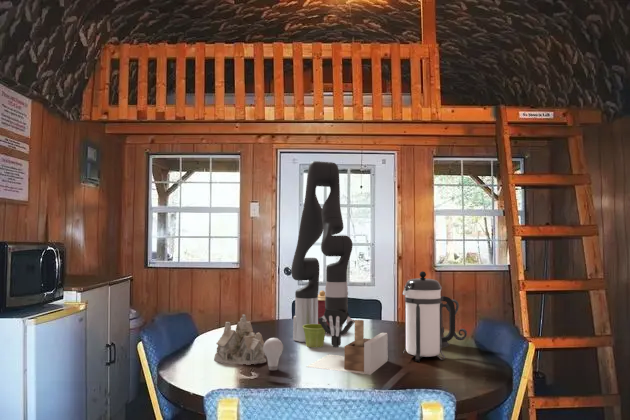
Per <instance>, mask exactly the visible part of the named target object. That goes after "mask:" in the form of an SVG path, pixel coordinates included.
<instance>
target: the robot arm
mask: <svg viewBox="0 0 630 420" xmlns="http://www.w3.org/2000/svg"><path fill="white" fill-rule="evenodd" d="M339 170H340V169H339V167H338V164H336V163H335V162H333V161H320V160H318V161H317V160H314V161H313V160H312V161H310V163H309V165H308V170H307V176H306V185H305V186H306V187H305V196H304V202H303V208H302V212H301V218H300V224H299V231H298V238H297V243H296V246H295V247H296V248H295V251H294V255H293V258H292V264H291V276H292V279H293V280H295V281H302V282H303V281H308V282H307V284H306V285H304V286H303V287H300V288H298V289H296V290H295V292H294V293H295V298H294V299H295V301H294V302H295V303H294V304H295V307H294V308H295V311H294V312H295V313H294V316H292V318H293V319H292V320H293V321H292V322H293V323H292V331H293V332H292V341H296V342H300V343H306V340H305V332H304V328H303V327H302V326H303V325H307V324H318V321H319V323H320V324H321V326H322V327H323V329H324V330H325V334H329V335H330V336H331V339H330V340H331V346H332V347H333V348H336V349H338V348H339V347H340V346H341V344H342V336H344V335H346V334H347V333H348V332H349V330H350V329H351V328H352V327H353V325H355V320H356V319H355V320H354V319H352V318H351V317H350V314H349V311H348V310H349V309H348V306H349V305H348V301H349V300H348V298H349V297H348V295H349V291H348V290H349V289H348V266H349V262H350V258H351V254H352V251H353V241H352V239H351V237H350V236H348V235H338V234H340V233H341V232H342V231H344V221H343V215H342V210H341V194H340V193H341V190H340V189H341V187H340V171H339ZM317 187H325V188H326V187H328V188H329V189H330V190H329V194H328V196H327V197H326V200H325V201H324V203H323V204H322V206H321V203H319V200H318V197H317V193H316V190H317ZM321 236H322V238H321ZM320 238H321V244H320V250H321V253H322V254H323V255H324V256H325V257H339V260H338V261H336V262H333V263H329V264H327V265H326V269H325V273H326V274H325V281H326V282H325V288H324V289H325V290H324V291H325V312H324V316H322V317H321V318H319V319H318V295H319V289H320V285H319V283H320V261H319V259H318V258H316V257H306V255H307V253H308V251H309V250H310V249H311V248H312V247H313V246H314V245H315V244H316V243H317V241H318V240H319V239H320ZM326 319H327V320H326ZM326 321H328V323H329V324H330V327H329V325H328V324H327V322H326ZM345 323H346V325H345V326H344V328H343V325H344V324H345Z"/></svg>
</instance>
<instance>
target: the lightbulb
mask: <svg viewBox="0 0 630 420" xmlns="http://www.w3.org/2000/svg"><path fill="white" fill-rule="evenodd" d="M263 350H264V353H265V358H266V361H267V365H268V370H269V371H278V366H279V360H280V358H281V356H282V353H283V351H284V344H283V343H282V341H281V340H280V339H279V338H278V337H270V338H268V339H266V340H265V341H264V346H263Z"/></svg>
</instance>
